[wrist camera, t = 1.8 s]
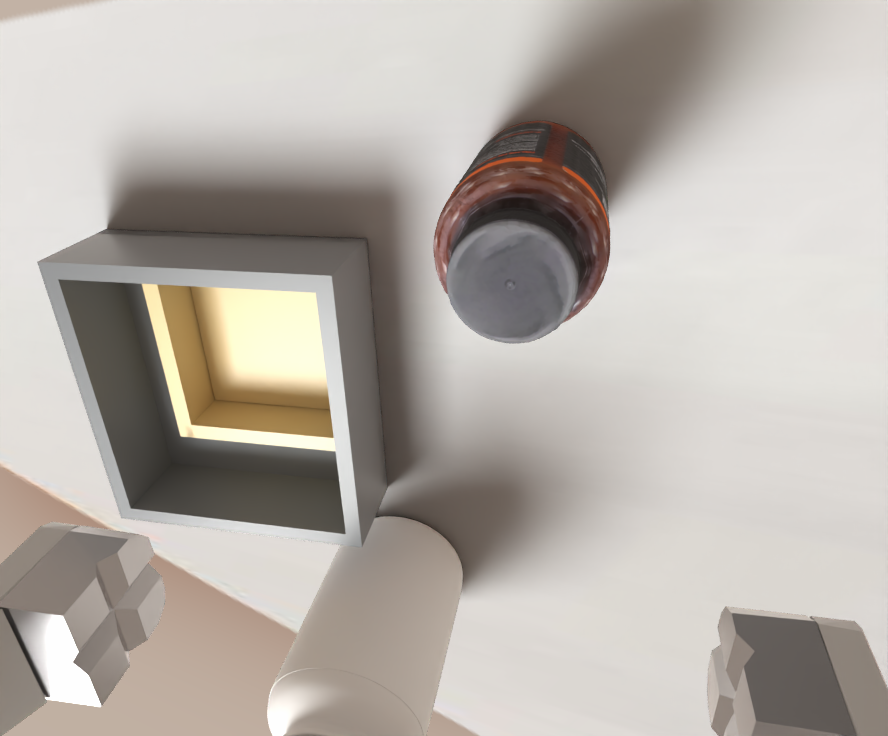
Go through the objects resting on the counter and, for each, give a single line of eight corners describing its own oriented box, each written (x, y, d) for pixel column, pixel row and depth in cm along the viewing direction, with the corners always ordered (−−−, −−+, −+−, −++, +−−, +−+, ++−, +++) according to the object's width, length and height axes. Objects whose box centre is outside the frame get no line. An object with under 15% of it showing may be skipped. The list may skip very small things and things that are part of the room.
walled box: (387, 487, 40) (361, 547, 35) (169, 464, 42) (121, 518, 38) (366, 238, 32) (331, 275, 28) (106, 229, 35) (37, 261, 31)
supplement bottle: (443, 189, 31) (371, 279, 21) (538, 86, 28) (508, 134, 18) (535, 279, 32) (509, 405, 22) (636, 189, 29) (657, 287, 19)
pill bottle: (338, 501, 41) (220, 734, 28) (469, 524, 40) (409, 779, 27) (341, 594, 45) (238, 837, 32) (460, 617, 44) (404, 879, 31)
